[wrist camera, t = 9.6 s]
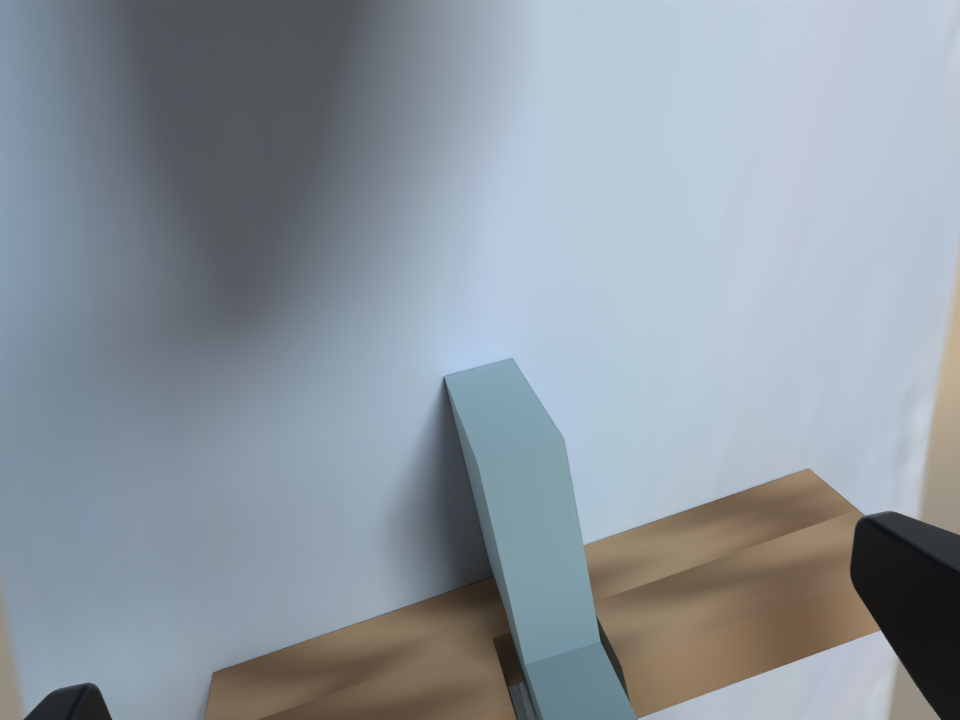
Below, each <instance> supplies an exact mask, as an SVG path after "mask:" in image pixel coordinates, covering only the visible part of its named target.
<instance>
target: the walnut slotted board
mask: <svg viewBox="0 0 960 720" xmlns="http://www.w3.org/2000/svg"><path fill="white" fill-rule="evenodd" d="M863 516H865V515H864V514H863V513H862V512H860V511H859V510H858V509H857V508H856V507H854V506H853V505H852V504H851V503H850V502H848V501H847V500H846V499H845V498H844V497H843V496H841V495H840V494H839V493H838V492H837V491H835V490H834V489H833V488H832V487H831V486H829V485H828V484H827V483H826V482H825V481H823V480H822V479H821V478H820V477H819V476H817V475H816V474H815V473H814V472H813V471H812V470H810V469H806V470H803V471H800V472H797V473H794V474H791V475H788V476H785V477H783V478H780V479H777V480H774V481H771V482H768V483H765V484H762V485H759V486H756V487H753V488H750V489H748V490H745V491H742V492H739V493H736V494H733V495H730V496H727V497H724V498H721V499H718V500H715V501H713V502H710V503H707V504H704V505H701V506H698V507H695V508H692V509H689V510H686V511H683V512H681V513H678V514H675V515H672V516H669V517H666V518H663V519H660V520H657V521H654V522H651V523H648V524H646V525H643V526H640V527H637V528H634V529H631V530H628V531H625V532H622V533H619V534H616V535H613V536H611V537H608V538H605V539H602V540H599V541H596V542H593V543H590V544H587V545H584V552H585V557H586V563H587V569H588V574H589V580H590V585H591V591H592V596H593V602H594V608H595V613H596V619H597V624H598V630H599V636H600V641H601V643H602V646H603V648H604V650H605V652H606V654H607V656H608V658H609V660H610V662H611V664H612V666H613V669H614V671H615V673H616V675H617V677H618V679H619V681H620V683H621V685H622V687H623V689H624V691H625V694H626V696H627V698H628V700H629V702H630V704H631V706H632V708H633V710H634V712H635V714H636V717H637V719H638V718H641V717H643V716H646V715H649V714H652V713H654V712H657V711H660V710H663V709H665V708H668V707H671V706H673V705H676V704H679V703H682V702H684V701H687V700H690V699H693V698H695V697H698V696H701V695H704V694H706V693H709V692H712V691H715V690H717V689H720V688H723V687H726V686H728V685H731V684H734V683H737V682H739V681H742V680H745V679H748V678H750V677H753V676H756V675H759V674H761V673H764V672H767V671H770V670H772V669H775V668H778V667H781V666H783V665H786V664H789V663H792V662H794V661H797V660H800V659H803V658H805V657H808V656H811V655H814V654H816V653H819V652H822V651H825V650H827V649H830V648H833V647H836V646H838V645H841V644H844V643H846V642H849V641H852V640H855V639H857V638H860V637H863V636H866V635H868V634H871V633H874V632H877V631H879V630H880V628H879V626H878V625H877V623H876V622H875V620H874V619H873V617H872V616H871V614H870V612H869V611H868V609H867V608H866V606H865V605H864V603H863V601H862V600H861V598H860V597H859V595H858V594H857V592H856V590H855V588H854V586H853V584H852V581H851V577H850V561H851V553H852V545H853V537H854V529H855V524H856V523H857V521H858V520H859V519H860V518H861V517H863ZM522 682H523V680H522V676H521V672H520V668H519V663H518V659H517V655H516V651H515V647H514V643H513V638H512V634H511V630H510V626H509V622H508V618H507V613H506V610H505V607H504V604H503V601H502V598H501V595H500V592H499V589H498V586H497V583H496V580H495V577H491V578H488V579H485V580H482V581H479V582H476V583H474V584H471V585H468V586H465V587H462V588H459V589H456V590H453V591H450V592H447V593H444V594H442V595H439V596H436V597H433V598H430V599H427V600H424V601H421V602H418V603H415V604H412V605H409V606H407V607H404V608H401V609H398V610H395V611H392V612H389V613H386V614H383V615H380V616H377V617H374V618H372V619H369V620H366V621H363V622H360V623H357V624H354V625H351V626H348V627H345V628H342V629H340V630H337V631H334V632H331V633H328V634H325V635H322V636H319V637H316V638H313V639H310V640H307V641H305V642H302V643H299V644H296V645H293V646H290V647H287V648H284V649H281V650H278V651H275V652H272V653H270V654H267V655H264V656H261V657H258V658H255V659H252V660H249V661H246V662H243V663H240V664H237V665H235V666H232V667H229V668H226V669H223V670H220V671H217V672H214V673H213V677H212V682H211V688H210V694H209V699H208V705H207V711H206V716H205V720H518V718H517V714H516V711H515V708H514V704H513V701H512V698H511V694H510V691H509V688H508V687H510V686H513V685H516V684H519V683H522Z"/></svg>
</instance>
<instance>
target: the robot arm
mask: <svg viewBox="0 0 960 720" xmlns="http://www.w3.org/2000/svg"><path fill="white" fill-rule="evenodd" d="M850 577H851V581H852V584H853V586H854V588H855V590H856V592H857V594H858V595H859V597H860V598H861V600H862V601H863V603H864V605H865V606H866V608H867V609H868V611H869V612H870V614H871V616H872V617H873V619H874V620H875V622H876V623H877V625H878V626H879V628H880V630H881V631H882V633H883V634H884V636H885V637H886V639H887V641H888V642H889V644H890V645H891V647H892V648H893V650H894V651H895V653H896V655H897V656H898V658H899V659H900V661H901V662H902V664H903V666H904V667H905V669H906V670H907V672H908V673H909V675H910V676H911V678H912V680H913V681H914V683H915V684H916V685H917V687H918V688H919V690H920V691H921V693H922V694H923V696H924V697H925V698H926V700H927V701H928V703H929V704H930V705H931V707H932V708H933V709H934V711H935V712H936V713H937V715H938V716H939V718H940V719H941V720H960V535H958V534H955V533H952V532H950V531H947V530H944V529H941V528H938V527H936V526H933V525H930V524H927V523H925V522H922V521H919V520H916V519H913V518H911V517H908V516H905V515H902V514H900V513H897V512H892V511H886V512H881V513H876V514H871V515H867V516H863V517H861V518H860V519H859V520H858V521H857V523H856V524H855V529H854V537H853V545H852V553H851V561H850ZM24 720H112V718H111V716H110V713H109V711H108V708H107V706H106V704H105V701H104V699H103V696H102V694H101V692H100V690H99V688H98V687H97V686H96V685H95V684H93V683H83V684H79V685H74V686H69V687H65V688H60V689H57V690H55V691H53V692H51V693H50V694H49V695H47V696H46V697H45V698H44V699H43V700H42V701H41V702H40V703H39V704H38V705H37V706H36V707H35V708H34V710H33V711H32V712H31V713H30V714H29V715H28V716H27V717H26V718H25V719H24Z"/></svg>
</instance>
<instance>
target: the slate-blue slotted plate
mask: <svg viewBox="0 0 960 720" xmlns="http://www.w3.org/2000/svg"><path fill="white" fill-rule="evenodd" d="M444 378H445V382H446V386H447V390H448V395H449V399H450V403H451V407H452V411H453V415H454V419H455V423H456V428H457V432H458V436H459V440H460V444H461V448H462V452H463V456H464V460H465V465H466V469H467V473H468V477H469V481H470V485H471V489H472V493H473V497H474V502H475V506H476V510H477V514H478V518H479V522H480V526H481V530H482V534H483V539H484V543H485V547H486V551H487V555H488V559H489V563H490V566H491V569H492V572H493V574H494V577H495V580H496V583H497V586H498V589H499V592H500V595H501V598H502V601H503V604H504V607H505V610H506V613H507V618H508V622H509V626H510V630H511V634H512V638H513V643H514V647H515V651H516V655H517V659H518V663H519V668H520V672H521V676H522V680H523V682H522V683H519V687H520V691H521V695H522V699H523V703H524V707H525V711H526V715H527V720H638V719H637V717H636V714H635V712H634V710H633V708H632V706H631V704H630V702H629V700H628V698H627V696H626V694H625V691H624V689H623V687H622V685H621V683H620V681H619V679H618V677H617V675H616V673H615V671H614V669H613V666H612V664H611V662H610V660H609V658H608V656H607V654H606V652H605V650H604V648H603V646H602V643H601V641H600V636H599V630H598V624H597V619H596V613H595V608H594V602H593V596H592V591H591V585H590V580H589V574H588V569H587V563H586V557H585V552H584V546H583V541H582V535H581V530H580V524H579V518H578V513H577V507H576V502H575V496H574V490H573V485H572V479H571V474H570V468H569V463H568V457H567V451H566V446H565V440H564V438H563V436H562V435H561V433H560V431H559V430H558V428H557V427H556V425H555V424H554V422H553V420H552V419H551V417H550V416H549V414H548V413H547V411H546V410H545V408H544V406H543V405H542V403H541V402H540V400H539V399H538V397H537V395H536V394H535V392H534V391H533V389H532V388H531V386H530V384H529V383H528V381H527V380H526V378H525V377H524V375H523V374H522V372H521V370H520V369H519V367H518V366H517V364H516V363H515V361H514V359H513V358H511V359H507V360H503V361H500V362H496V363H492V364H488V365H485V366H481V367H477V368H473V369H470V370H466V371H462V372H458V373H455V374H451V375H447V376H444Z"/></svg>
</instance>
